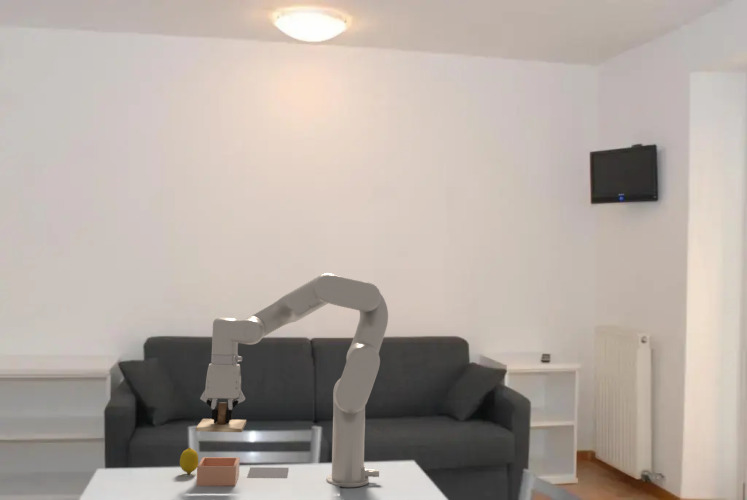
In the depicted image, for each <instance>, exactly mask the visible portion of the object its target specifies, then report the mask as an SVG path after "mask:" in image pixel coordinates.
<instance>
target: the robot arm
mask: <svg viewBox="0 0 747 500" xmlns="http://www.w3.org/2000/svg"><path fill="white" fill-rule="evenodd" d="M328 304H329V305H334V306H338V307H342V308H347V309H351V310H355V311H359V320H358V324H357V327H356V331H355V334H354V336H353V339H352V340H351V344H350V346H349V349H348V350H347V353H346V356H345V358H346V362H345V365H344V368H343V371H342V374H341V377H340V378H339V379H338V380H337V381H336V382H335V384H334V387H333V391H332V392H333V393H332V395H333V396H332V398H333V400H332V401H333V409H332V410H333V411H332V412H333V413H332V415H333V417H332V446H331V447H332V448H331V449H332V450H331V451H332V452H331V458H332V459H331V474H328V475H327V477H326V479H325V480H326V483H328V484H331V485H333V486H338V487H340V488H358V487H362V486H366V485H368V483H369V482H370V481H369V480H370V479H369V478H371V477H372V478H380V470H379V469H378V470H375V469H374V468H371V469H370V468H369V469H368V468H367V467H366V466H365V437H366V436H365V433H366V431H365V430H366V406H367V403H368V400H369V398H370V395H371V393H372V390H373V387H374V384H375V381H376V378H377V375H378V373H379V369H380V364H381V358H380V357H381V356H380V355H379V354H380V350H381V347H382V344H383V341H384V337H385V334H386V331H387V327H388V323H389V311H388V307H387V306H388V305H387V303H386V300H385V298H384V297H383V295H382V294H381V291H380V289H379V288H378V286H377V285H376V284H374V283H372V282H369V281H363V280H358V279H353V278H349V277H344V276H340V275H336V274H333V273H329V272H325V273H322V274H320V275H318V276H316V277H314V278H313V279H311V280H310V281H308V282H306V283H304V284H302V285H300V286H299V287H297V288H296V289H294V290H291V291H290V292H287V294H285V295H283V296H281V297H280V298H279V299H278V300H276V301H274V302H273V303H271V304H270V305H268V306H266V307H265V308H263V309H261V310H259V311H258V312H256V313H254V314H253V315H251V316H249V317H247V318H245V319H237V318H234V317H233V318H232V317H217V318H215V319H213V322H212V334H211V335H212V336H211V338H212V339H211V359H210V360H211V362H210V363H209V364H208V367H207V373H206V377H205V379H206V380H205V389H204V390H203V392H202V394H201V396H200V398H199V399H200V400H201V401H202V402H204V403H206V404H207V405H208V406H209V407H210V409H211V419H212V420H214V423H216V422H217V403H218V399H219V400H220V399H221V400H227V403H228V409H227V413H226V423H229V422H230V420H233V409H234V408H235V407H236V406H237V405H238V404H240V403H243V402H244V401H245V400H246V396H245V395H244V393H243V391H242V371H241V364H239V362H242V361H243V356H240V355H239V354H238V350H239V349H238V347H239V344H244V345H255V344H258V343H259V342H261V340H262V339H263V338H264V337H266V336H268V335H270V334H271V333H273V332H275V331H276V330H278V329H280V328H282V327H284V326H286V325H288V324H291V323H295V322H298V321H300V320H302V319H304V318H306V317H308V316H309V315H310V314H312V313H314V312H316V311H317V310H319V309H321V308H323V307H324V306H326V305H328Z"/></svg>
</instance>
